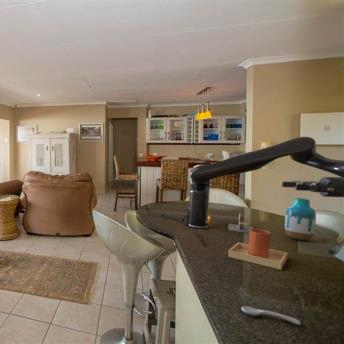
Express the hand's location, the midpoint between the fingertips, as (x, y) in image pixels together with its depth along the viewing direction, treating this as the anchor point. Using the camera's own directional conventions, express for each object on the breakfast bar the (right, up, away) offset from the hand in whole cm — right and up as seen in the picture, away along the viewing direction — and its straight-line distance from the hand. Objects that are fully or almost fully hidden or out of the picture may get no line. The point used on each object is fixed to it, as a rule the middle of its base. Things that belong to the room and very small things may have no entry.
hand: (289, 185), depth 113 cm
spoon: (-39, -32, -40) cm, 64 cm away
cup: (-12, -27, 0) cm, 30 cm away
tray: (-13, -28, 0) cm, 31 cm away
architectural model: (+8, -25, +40) cm, 48 cm away
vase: (+24, -26, +23) cm, 42 cm away
